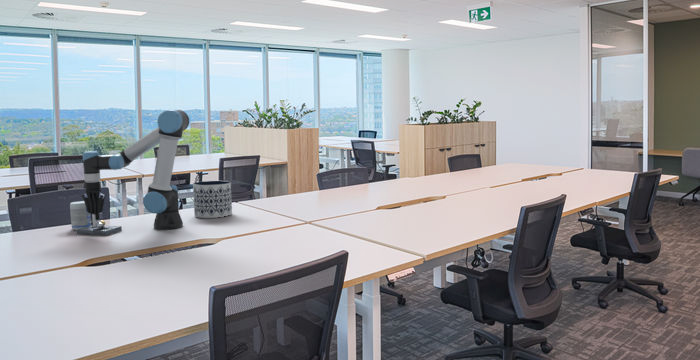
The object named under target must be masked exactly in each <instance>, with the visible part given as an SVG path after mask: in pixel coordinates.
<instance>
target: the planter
mask: <svg viewBox="0 0 700 360" xmlns="http://www.w3.org/2000/svg"><path fill="white" fill-rule="evenodd" d="M192 190H193V193H192V195H193V212H194V217H196V218H198V219H219V218H218V217H222V218H225V217H224V216H227V217H229V216H228V215H230V216H232V214H233V206H232V205H233V204H232V203H233V202H232V200H233V199H232V183H231V181H230V180H205V181H203V180H202V181H196V182H193V183H192Z"/></svg>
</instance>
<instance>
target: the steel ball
mask: <svg viewBox="0 0 700 360" xmlns="http://www.w3.org/2000/svg"><path fill="white" fill-rule="evenodd" d="M97 228H99V229H101V228H103V223H98V224H97Z"/></svg>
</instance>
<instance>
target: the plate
mask: <svg viewBox="0 0 700 360" xmlns="http://www.w3.org/2000/svg"><path fill="white" fill-rule="evenodd" d="M122 228H123V227H122V226H119V225H105V226H103V228H101V229H99V228H97V226H96V227H93V226H92V225H91V226H88V227H84V228H81V229H77V230H75V232H76V235H79V234H83V236H85V235H86V236H102V237H103V236H104V237H106V236H110V235H114V234H115V233H116V234H117V233H119V232H122V230H123V229H122Z"/></svg>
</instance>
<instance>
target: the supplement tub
mask: <svg viewBox="0 0 700 360" xmlns="http://www.w3.org/2000/svg"><path fill="white" fill-rule="evenodd" d="M69 210H70V211H69V212H70V223H71V225H70V226H71V230H72V231H76V230H77V229H81V228H84V227H88V226H92V225H91V222H92V219H91V214H90V213H88V212H87V209H86V206H85V202H84V200H81V201H73V202H70V204H69Z"/></svg>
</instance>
